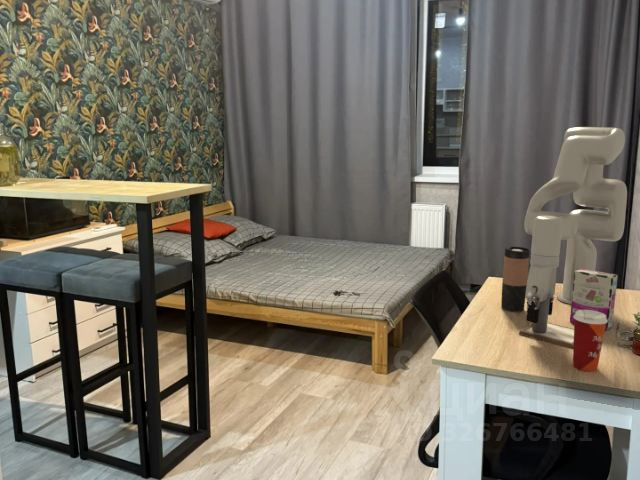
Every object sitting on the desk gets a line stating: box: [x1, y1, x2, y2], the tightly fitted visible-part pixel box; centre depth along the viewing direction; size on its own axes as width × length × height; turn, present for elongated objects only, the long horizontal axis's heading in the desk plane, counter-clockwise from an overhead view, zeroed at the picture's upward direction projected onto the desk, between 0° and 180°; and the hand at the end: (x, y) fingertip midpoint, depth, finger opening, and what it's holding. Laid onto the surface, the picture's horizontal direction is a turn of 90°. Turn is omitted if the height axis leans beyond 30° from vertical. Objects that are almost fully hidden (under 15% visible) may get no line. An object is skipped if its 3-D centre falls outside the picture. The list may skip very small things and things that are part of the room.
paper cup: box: [572, 310, 608, 373], centre depth 144 cm, size 8×8×14 cm
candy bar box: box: [569, 269, 619, 331], centre depth 174 cm, size 11×5×16 cm, turn 47°
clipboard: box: [518, 322, 574, 349], centre depth 166 cm, size 13×16×2 cm
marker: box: [531, 289, 551, 333], centre depth 165 cm, size 4×4×13 cm
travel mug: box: [500, 246, 531, 313], centre depth 189 cm, size 8×8×20 cm
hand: (539, 317), depth 166 cm, fingers open, 9 cm apart
